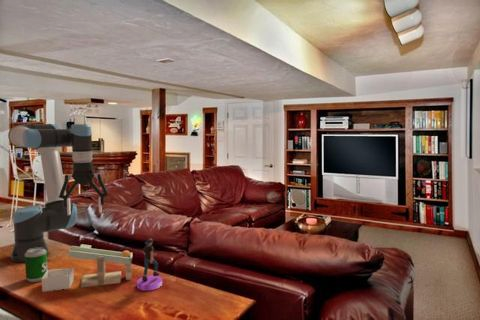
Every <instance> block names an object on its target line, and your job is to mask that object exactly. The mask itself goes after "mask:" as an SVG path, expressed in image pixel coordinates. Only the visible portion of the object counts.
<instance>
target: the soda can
mask: <svg viewBox="0 0 480 320" xmlns="http://www.w3.org/2000/svg"><path fill="white" fill-rule="evenodd" d="M24 266H25V279H26V281H28V282H29V283H38V282H42V277H43V276H44V274H45V273H46V271H47V270H49V269H48V256H47V251H46V250H45V249H44V248H42V247H38V248H32V249H29V250H27V252H26V253H25V262H24Z"/></svg>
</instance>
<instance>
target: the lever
mask: <svg viewBox="0 0 480 320" xmlns="http://www.w3.org/2000/svg"><path fill="white" fill-rule="evenodd" d="M122 252H123V251H115V250H106V249H100V248H99V249H98V248H92V245H91V244H90V245H89V244H83V243H81V244H80V246H77V245H71V248H70V249H69V250H68V255H67V257H68V258H72V259H80V260H91V261H96V262H97V257H100V256H103V261H104V262H105V263H114V264H120V265H121V264H124V265H125V264H130V265H131V266H132V262H133V252H130V257H129V258H128V257H121V254H122Z"/></svg>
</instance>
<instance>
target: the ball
mask: <svg viewBox="0 0 480 320" xmlns="http://www.w3.org/2000/svg"><path fill="white" fill-rule="evenodd" d="M121 252H122V254H121V257H128V258H129V257H130V253H131V252H130V251H129V250H123V251H121Z"/></svg>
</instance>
